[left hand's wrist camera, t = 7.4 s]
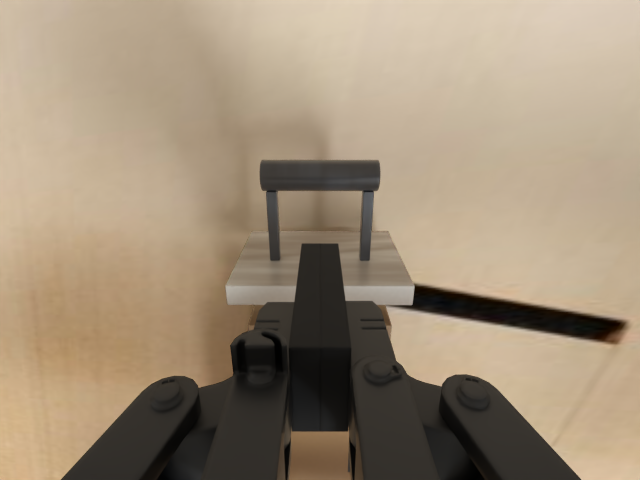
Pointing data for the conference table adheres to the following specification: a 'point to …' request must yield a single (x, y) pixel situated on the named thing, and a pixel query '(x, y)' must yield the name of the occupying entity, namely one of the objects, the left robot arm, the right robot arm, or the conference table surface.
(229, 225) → the conference table surface
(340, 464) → the cabinet
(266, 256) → the drawer
